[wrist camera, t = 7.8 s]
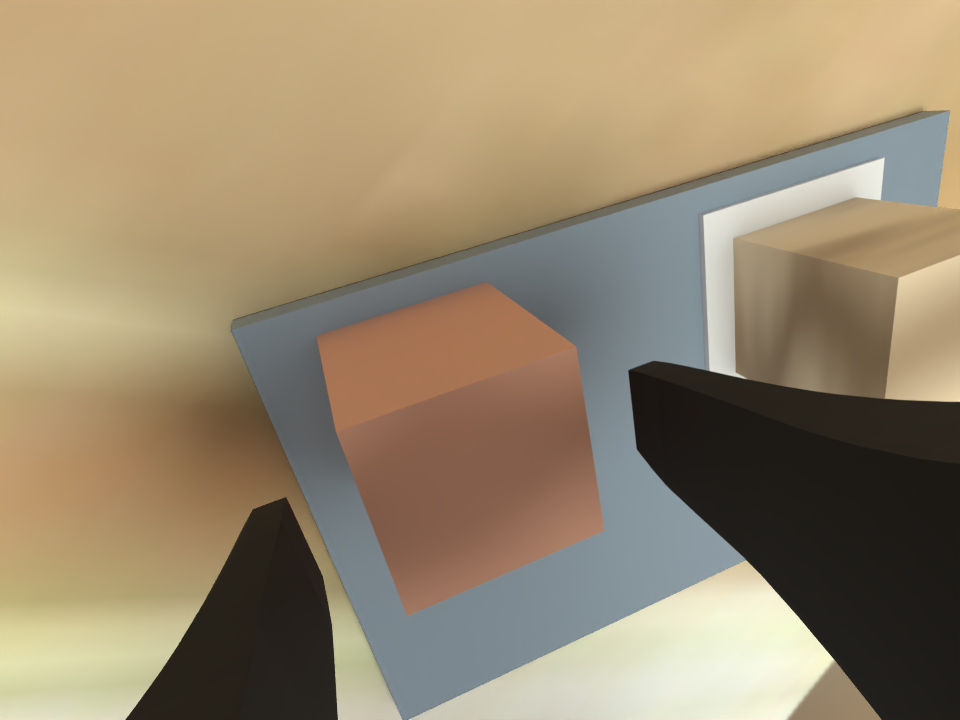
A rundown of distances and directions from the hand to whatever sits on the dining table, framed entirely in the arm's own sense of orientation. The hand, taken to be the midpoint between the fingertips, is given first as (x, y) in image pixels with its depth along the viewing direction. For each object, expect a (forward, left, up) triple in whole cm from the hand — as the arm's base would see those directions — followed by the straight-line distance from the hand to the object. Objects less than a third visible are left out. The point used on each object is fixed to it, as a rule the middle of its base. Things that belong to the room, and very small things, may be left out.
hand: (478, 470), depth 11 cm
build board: (-5, -7, -5) cm, 10 cm away
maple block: (-1, -12, -4) cm, 13 cm away
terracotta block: (0, 0, -5) cm, 5 cm away
